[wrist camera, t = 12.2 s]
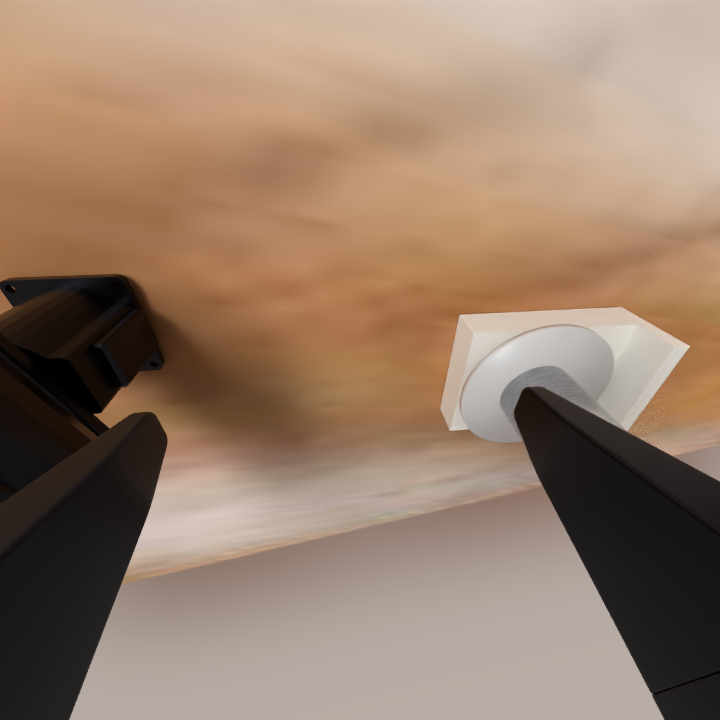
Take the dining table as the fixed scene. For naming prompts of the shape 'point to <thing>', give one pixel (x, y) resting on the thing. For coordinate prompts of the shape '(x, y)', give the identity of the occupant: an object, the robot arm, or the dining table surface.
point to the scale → (554, 362)
